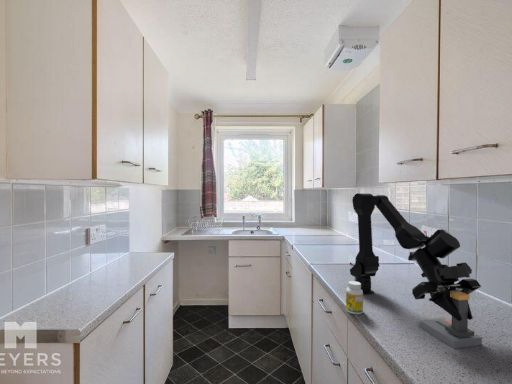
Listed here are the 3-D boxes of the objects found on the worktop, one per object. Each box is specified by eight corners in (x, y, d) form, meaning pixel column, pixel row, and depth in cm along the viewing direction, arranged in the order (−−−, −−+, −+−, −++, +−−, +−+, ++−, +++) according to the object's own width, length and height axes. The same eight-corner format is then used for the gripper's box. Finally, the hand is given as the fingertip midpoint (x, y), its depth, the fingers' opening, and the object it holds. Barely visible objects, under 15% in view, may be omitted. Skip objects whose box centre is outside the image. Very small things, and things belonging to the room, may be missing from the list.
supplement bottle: (366, 314, 87) (366, 285, 87) (351, 315, 86) (351, 286, 86) (356, 307, 92) (357, 279, 92) (342, 308, 91) (343, 280, 91)
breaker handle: (445, 329, 73) (445, 291, 73) (459, 327, 74) (460, 290, 74) (458, 337, 69) (459, 297, 69) (474, 335, 71) (475, 295, 70)
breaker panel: (419, 326, 79) (419, 320, 79) (444, 324, 81) (444, 317, 81) (454, 348, 69) (454, 340, 69) (481, 344, 71) (481, 336, 71)
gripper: (421, 253, 73) (458, 311, 63) (475, 251, 77) (518, 305, 67) (399, 272, 81) (429, 327, 70) (449, 270, 85) (484, 320, 74)
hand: (465, 319), depth 70 cm, fingers closed on breaker handle, 3 cm apart
